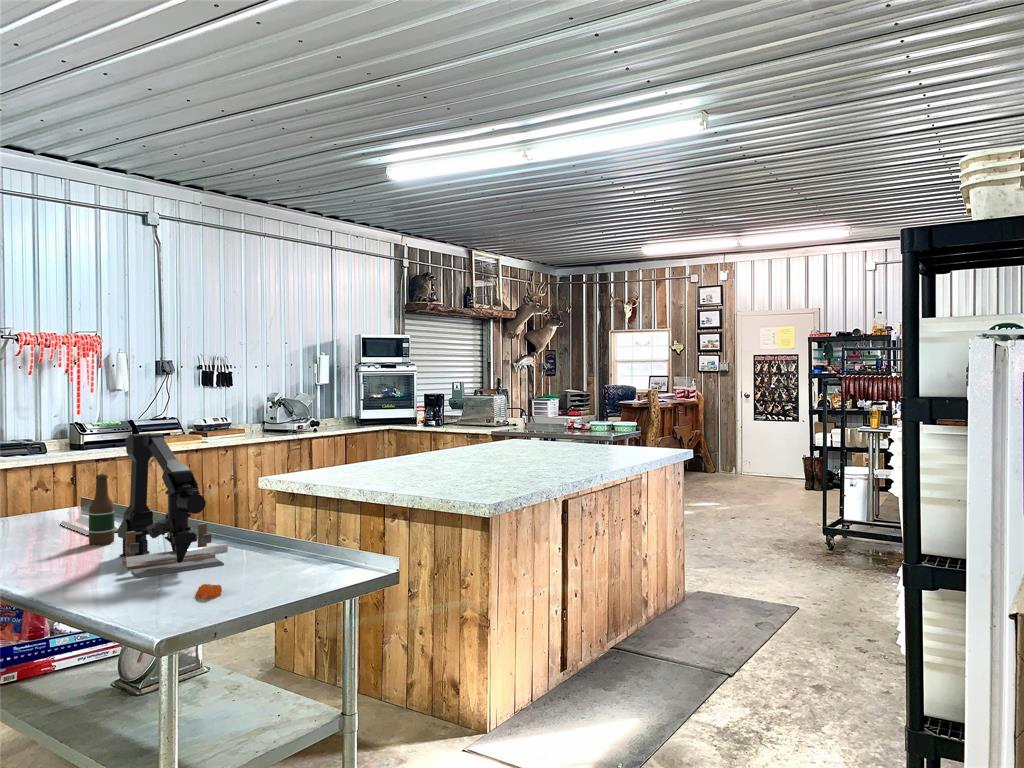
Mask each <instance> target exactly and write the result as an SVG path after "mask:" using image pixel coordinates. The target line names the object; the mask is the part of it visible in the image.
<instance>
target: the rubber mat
mask: <svg viewBox="0 0 1024 768" xmlns="http://www.w3.org/2000/svg"><path fill="white" fill-rule="evenodd" d="M218 566H225V563H224V561H221V560H220V559H218V558H217V557H215V558H210V559H203V560H196V561H189V562H182V563H175V564H168V565H161V566H154V567H148V568H141V569H134V570H130V572H131V573H132V574H133V575H134V576H135V577H136V578H137V579H140V577H141V578H146V577H147V576H148V577H153V575H154V576H160V575H159V574H161V575H166V574H167V573H168V574H174V573H180V572H186V571H187V572H188V571H193V570H200V569H205V568H207V569H208V568H213V567H218ZM168 574H167V575H168ZM148 577H147V578H148Z"/></svg>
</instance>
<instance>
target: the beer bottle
mask: <svg viewBox="0 0 1024 768" xmlns="http://www.w3.org/2000/svg"><path fill="white" fill-rule="evenodd" d="M108 479H109V476H108V474H105V473H101V474H96V476H95V480H96V484H95V494H94V495H95V496H94V499H93V500H92V502H91V503H90V505H89V509H88V517H89V536H88V543H89V545H90V544H91V545H90V546H93V545H101V546H104V545H103V544H108V545H110V544H109V543H112V542H113V543H114V542H115V532H114V526H115V505H114V502H113V500H111V498H110V496H109V490H108V489H109V488H108ZM113 543H112V544H113Z"/></svg>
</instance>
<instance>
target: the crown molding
mask: <svg viewBox="0 0 1024 768" xmlns="http://www.w3.org/2000/svg"><path fill="white" fill-rule="evenodd" d="M74 522H77V523H79V524H81V525H84V526H86V527H88V528H89V515H85V514H81V515H80V516H79V517H78V518H77V519H76V520H75V521H74ZM71 523H72V522H67V521H65V520H62V521H60V523H59V524H62V525H64V526H67V527H69V528H72V529H73V530H76V531H78V532H81V533H83V534H86V535H89V530H86V529H84V528H81V527H78V526H76V525H73V524H71ZM118 528H119V527H116V526H115V525H114V533H116V531H117V530H118ZM73 530H72V531H73ZM76 531H75V532H76ZM78 532H77V533H78ZM81 533H80V534H81ZM83 534H82V535H83ZM86 535H85V536H86Z"/></svg>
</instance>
